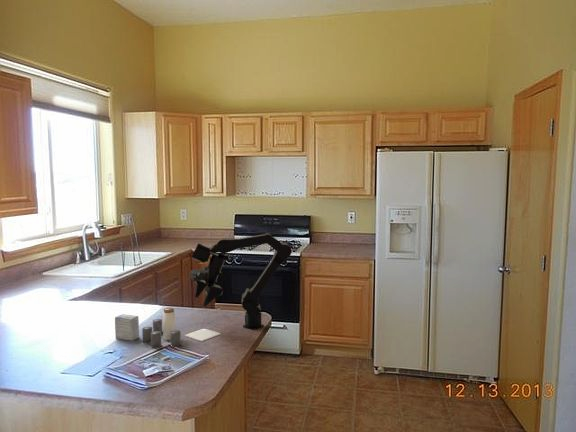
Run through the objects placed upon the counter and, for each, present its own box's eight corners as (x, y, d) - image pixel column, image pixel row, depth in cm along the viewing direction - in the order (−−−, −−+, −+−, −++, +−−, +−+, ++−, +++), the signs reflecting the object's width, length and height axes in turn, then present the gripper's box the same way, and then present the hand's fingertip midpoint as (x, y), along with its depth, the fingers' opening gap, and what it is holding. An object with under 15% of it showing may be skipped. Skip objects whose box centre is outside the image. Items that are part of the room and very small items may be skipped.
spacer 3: (163, 345, 155) (163, 332, 155) (154, 348, 152) (154, 335, 152) (157, 343, 157) (157, 330, 157) (149, 346, 155) (148, 333, 154)
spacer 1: (154, 340, 160) (154, 327, 160) (146, 343, 157) (145, 330, 157) (148, 338, 162) (148, 325, 162) (140, 341, 160) (140, 328, 159)
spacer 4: (182, 344, 156) (182, 331, 156) (174, 347, 153) (174, 334, 153) (176, 342, 158) (176, 329, 158) (168, 345, 155) (168, 332, 155)
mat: (220, 334, 167) (220, 333, 167) (201, 341, 159) (201, 340, 159) (204, 329, 173) (204, 328, 173) (184, 336, 165) (184, 335, 165)
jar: (177, 337, 163) (176, 308, 163) (168, 340, 160) (167, 311, 159) (170, 335, 166) (169, 306, 165) (161, 338, 163) (160, 309, 162)
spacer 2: (164, 332, 170) (163, 320, 169) (156, 334, 167) (156, 322, 166) (158, 330, 172) (158, 318, 171) (151, 332, 169) (150, 320, 169)
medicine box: (139, 337, 164) (139, 315, 163) (131, 341, 160) (131, 319, 159) (123, 335, 166) (122, 313, 166) (115, 338, 162) (114, 316, 162)
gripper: (189, 255, 175) (175, 289, 176) (205, 270, 160) (190, 307, 160) (212, 261, 182) (198, 294, 182) (230, 276, 167) (214, 312, 167)
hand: (199, 301), depth 173 cm, fingers open, 9 cm apart
